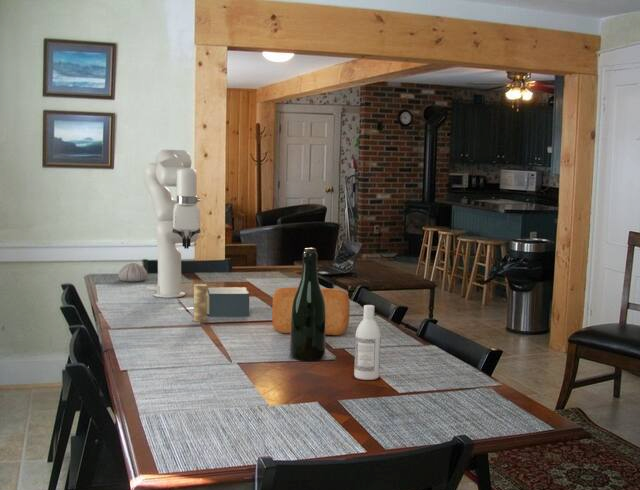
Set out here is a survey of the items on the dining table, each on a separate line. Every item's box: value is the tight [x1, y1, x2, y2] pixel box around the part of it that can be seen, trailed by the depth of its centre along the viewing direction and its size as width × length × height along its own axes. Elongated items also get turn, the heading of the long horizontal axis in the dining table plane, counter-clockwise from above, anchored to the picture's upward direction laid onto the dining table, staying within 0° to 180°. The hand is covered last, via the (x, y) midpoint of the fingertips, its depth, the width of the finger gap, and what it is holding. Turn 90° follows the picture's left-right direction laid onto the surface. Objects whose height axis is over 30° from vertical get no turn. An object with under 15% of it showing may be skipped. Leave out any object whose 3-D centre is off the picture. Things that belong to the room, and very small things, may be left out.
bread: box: [271, 286, 351, 336], centre depth 277 cm, size 16×26×17 cm
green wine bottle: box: [289, 247, 326, 362], centre depth 238 cm, size 10×10×33 cm
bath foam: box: [353, 304, 382, 381], centre depth 219 cm, size 7×7×20 cm
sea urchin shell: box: [117, 262, 149, 283], centre depth 372 cm, size 13×14×8 cm
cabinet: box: [207, 286, 250, 318], centre depth 303 cm, size 15×15×9 cm
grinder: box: [193, 283, 208, 323], centre depth 287 cm, size 5×5×13 cm
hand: (186, 248), depth 310 cm, fingers closed
